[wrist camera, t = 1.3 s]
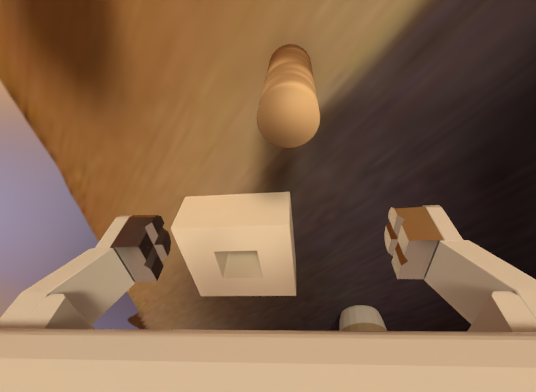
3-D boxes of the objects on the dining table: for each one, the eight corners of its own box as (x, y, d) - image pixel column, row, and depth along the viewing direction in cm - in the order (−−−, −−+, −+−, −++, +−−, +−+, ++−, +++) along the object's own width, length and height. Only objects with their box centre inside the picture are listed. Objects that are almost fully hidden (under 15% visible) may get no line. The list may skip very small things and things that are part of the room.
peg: (310, 42, 26) (319, 85, 17) (311, 86, 29) (319, 145, 19) (266, 46, 27) (252, 91, 17) (271, 90, 29) (261, 149, 20)
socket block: (289, 191, 37) (289, 224, 32) (295, 261, 46) (296, 295, 41) (185, 196, 39) (170, 228, 34) (209, 263, 47) (200, 296, 43)
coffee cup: (387, 330, 57) (411, 425, 45) (328, 330, 58) (337, 421, 47) (395, 298, 50) (427, 400, 38) (328, 298, 51) (339, 396, 40)
